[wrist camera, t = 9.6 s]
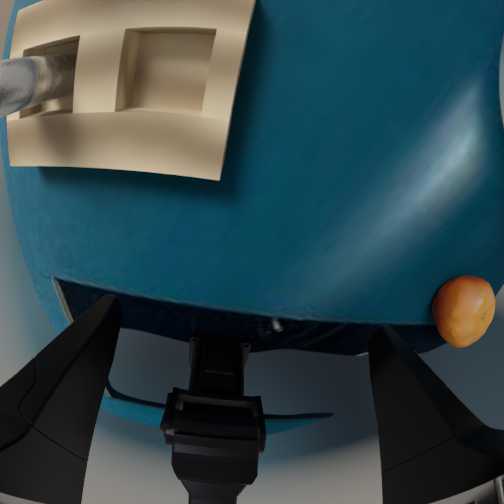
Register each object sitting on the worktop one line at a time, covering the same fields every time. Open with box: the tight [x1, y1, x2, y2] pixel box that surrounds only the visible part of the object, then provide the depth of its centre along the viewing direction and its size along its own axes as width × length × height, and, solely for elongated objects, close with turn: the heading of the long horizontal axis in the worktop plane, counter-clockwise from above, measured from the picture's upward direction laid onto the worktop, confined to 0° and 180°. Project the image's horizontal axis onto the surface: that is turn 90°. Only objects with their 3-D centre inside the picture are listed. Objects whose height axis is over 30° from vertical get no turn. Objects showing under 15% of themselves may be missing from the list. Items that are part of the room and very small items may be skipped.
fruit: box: [431, 276, 496, 347], centre depth 23 cm, size 8×8×8 cm
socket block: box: [7, 0, 256, 181], centre depth 12 cm, size 12×16×3 cm
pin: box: [0, 54, 77, 118], centre depth 9 cm, size 3×3×8 cm
